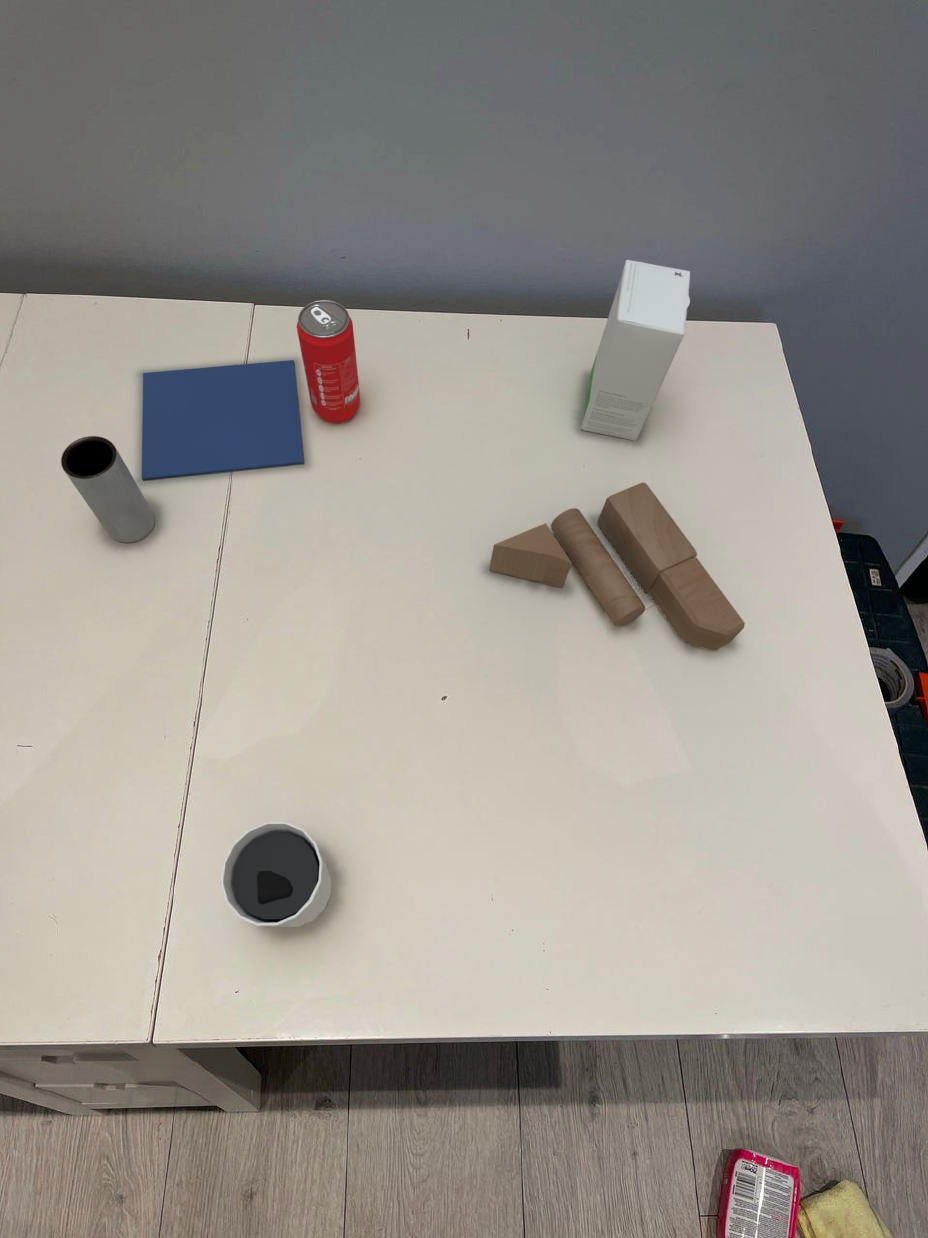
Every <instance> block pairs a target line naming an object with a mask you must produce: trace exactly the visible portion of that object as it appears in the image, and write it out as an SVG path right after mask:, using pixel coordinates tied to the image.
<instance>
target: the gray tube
mask: <svg viewBox="0 0 928 1238" xmlns="http://www.w3.org/2000/svg"><path fill="white" fill-rule="evenodd" d="M60 464H61V468H62V470H63V471H64V473H65V474H66V476H67V477H68V479H69V480H70V482H71V483H72V484H73V486H74V487H75V489H76V490H77V492H78V493H79V494H80V496H81V498H82V499H83V500H84V501H85V503H86V505H87V506H88V507H89V508H90V510H91V511H92V513H93V514H94V515H95V517H96V518H97V520H98V521H99V523H100V524H101V526H102V527H103V528H104V530H105V531H106V533H107V534H108V535H109V536H110V538H112V539H113V540H115V541H117V542H119V543H122V544H123V543H124V544H130V543H131V544H132V543H136V542H139V541H141V540H143V539H145V538H146V537H148V535H149V534H150V533H151V532H152V531H153V529H154V527H155V523H156V518H155V517H156V516H155V514H154V512H153V510H152V508H151V506H150V504H149V503H148V500H147V499H146V498H145V496H144V494H143V492H142V491H141V489H140V487H139V485H138V484H137V482H136V480H135V479H134V477H133V475H132V473H131V472H130V470H129V468H128V466H127V465H126V463H125V461H124V459H123V458H122V456H121V454H120V452H119V451H118V449H117V447H116V445H114V442H112V441H111V440H109V439H107V438H105V437H102V436H97V435H90V436H89V435H88V436H83V437H81V438H77V439H76V440H74V441H72V442H71V443H70V444H69V445H68V446H67V447H66V448H65V449H64V451H63V452H62V454H61V457H60Z"/></svg>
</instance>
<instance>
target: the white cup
mask: <svg viewBox="0 0 928 1238" xmlns="http://www.w3.org/2000/svg"><path fill="white" fill-rule="evenodd" d="M220 875H221V876H220V886H221V890H222V894H223V897H224V901H225V904H226V905H227V906H228V907H229V908H230V909H231V910H232V912H233V913H234V914H235V915H236V917H237V918H238V919H240V920H243V921H246V922H247V923H250V924H252V925H254V926H256V927H257V926H258V927H276V928H278V927H279V928H299V927H302V926H304V925H306V924H309V923H311V922H313V921H314V920H316V919H317V917H318V916H319V915H320V914H322V912H323V911H324V910H325V908H326V907H327V904H328V902H329V901H330V898H331V895H332V876H331V874H330V871H329V867H328V866H327V864H326V861H325V859H324V856H323V855H322V852H321V851H320V849H319V847H318V844H317V843H316V842H315V840H314V839H312V837H311V836H310V835H309V834H308V833H307V832H306V830H305V829H303V828H301V827H298V826H296V825H294V824H292V823H289V822H287V821H266V822H264V823H262V824H259V825H256V826H253V827H251V828H249V829H247V830H246V831H245V832H243V834H242V835H241V836H240V837H239V838H237V839H236V840H235V841H234V842H233V843H232V844H231V847H230V848H229V850H228V852H227V854H226V855H225V858H224V860H223V861H222V868H221V874H220Z"/></svg>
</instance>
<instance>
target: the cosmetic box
mask: <svg viewBox="0 0 928 1238" xmlns="http://www.w3.org/2000/svg"><path fill="white" fill-rule="evenodd" d="M622 269H623V270H622V272H621V274H620V275H621V276H620V279H619V282H618V286H617V288H616V290H615V291H616V292H615V295H614V297H613V300H612V304H611V308H610V310H609V314H608V316H607V319H606V323H605V326H604V329H603V333H602V336H601V339H600V342H599V346H598V348H597V351H596V355H595V357H594V361H593V364H592V367H591V370H590V373H589V377H588V384H587V389H586V396H585V401H584V408H583V415H582V420H581V425H580V426H581V427H580V429H581V431H583V432H589V433H595V434H600V435H606V436H609V437H616V438H621V439H624V440H625V439H626V440H631V441H638V438H639V436H640V433H641V431H642V429H643V426H644V425H645V423H646V422H645V421H646V419H647V418H648V415H649V413H650V411H651V408H652V407H653V404H654V402H655V400H656V399H657V396H658V393H659V391H660V389H661V387H662V385H663V382H664V380H665V378H666V376H667V374H668V372H669V370H670V367H671V365H672V363H673V361H674V359H675V356H676V354H677V352H678V350H679V347H680V345H681V343H682V341H683V338H684V337H685V334H686V332H685V330H686V323H687V315H688V307H690V304H691V297H690V295H689V294H690V284H691V283H690V282H691V271H690V270H685V269H680V268H673V267H669V266H663V265H659V264H652V263H647V262H644V261H637V260H633V259H632V260H631V259H626V260H625V263H624V265H623V268H622Z"/></svg>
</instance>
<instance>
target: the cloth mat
mask: <svg viewBox="0 0 928 1238" xmlns="http://www.w3.org/2000/svg"><path fill="white" fill-rule="evenodd" d="M295 367H296V366H295V360H294V359H290V360H289V359H288V360H277V361H265V362H254V363H241V364H231V365H222V366H221V365H219V366H207V367H206V366H205V367H197V368H185V369H174V370H161V371H152V372H150V371H149V372H143V373H142V415H141V416H142V418H141V419H142V425H141V435H142V436H141V481H152V480H163V479H171V478H172V479H173V478H181V477H191V476H200V475H210V474H220V473H231V472H238V471H239V472H240V471H248V470H249V471H250V470H258V469H259V470H260V469H269V468H278V467H286V466H296V465H297V466H298V465H304V464H305V458H304V457H305V456H304V447H303V438H302V428H301V427H302V426H301V418H300V406H299V397H298V386H297V377H296V368H295Z"/></svg>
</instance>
